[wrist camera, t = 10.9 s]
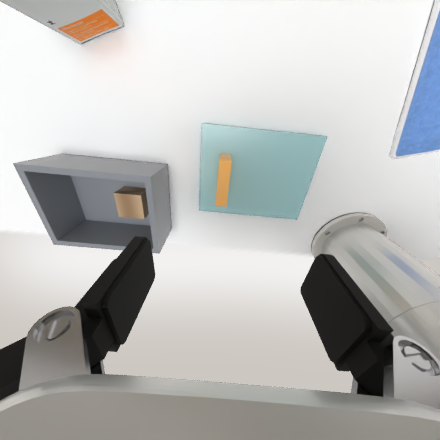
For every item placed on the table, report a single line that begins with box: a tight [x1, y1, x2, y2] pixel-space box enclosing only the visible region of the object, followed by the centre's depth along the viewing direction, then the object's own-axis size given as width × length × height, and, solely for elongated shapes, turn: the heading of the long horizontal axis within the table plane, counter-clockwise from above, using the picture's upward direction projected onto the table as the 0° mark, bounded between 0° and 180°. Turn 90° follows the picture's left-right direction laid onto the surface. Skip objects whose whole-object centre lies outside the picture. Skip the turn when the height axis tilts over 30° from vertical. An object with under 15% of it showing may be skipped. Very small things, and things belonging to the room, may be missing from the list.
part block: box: [114, 186, 149, 219], centre depth 27 cm, size 4×4×3 cm
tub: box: [13, 154, 172, 253], centre depth 26 cm, size 16×12×7 cm
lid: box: [199, 123, 327, 219], centre depth 25 cm, size 17×13×6 cm
